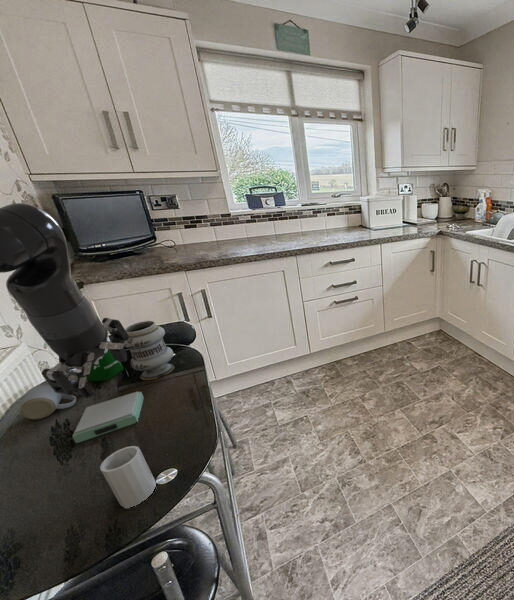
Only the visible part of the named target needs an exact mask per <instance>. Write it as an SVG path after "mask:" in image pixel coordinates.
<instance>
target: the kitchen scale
mask: <svg viewBox="0 0 514 600" xmlns="http://www.w3.org/2000/svg"><path fill="white" fill-rule="evenodd" d="M144 399H145V397H144V395H143V392H142V391H135V392H131V393H127V394H125V395H122V396H119V397H115V398H112V399H109V400H106V401H102V402H99V403H96V404H92V405H89V406H86V408H85V409H84V412H83V414H82V415H81V417H80V419H79V422H78V424H77V425H76V428H75V429H74V431H73V433H72V436H71V437H72V439H73V441H74V442H75V444H79V443H82V442H85V441H88V440H90V439H94V438H96V437H99V436H103V435H104V434H105V435H106V434H108V433H110V432H111V433H112V432H114V431H117V430H120V429H122V428H125V427H129V426H131V425H134V424H137V423H139V419H140V415H141V411H142V407H143V402H144ZM138 418H139V419H138ZM136 422H137V423H136Z"/></svg>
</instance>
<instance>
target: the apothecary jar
mask: <svg viewBox="0 0 514 600" xmlns="http://www.w3.org/2000/svg"><path fill="white" fill-rule="evenodd" d="M124 329H125V331H126V332H127V334H128V335H129V339H128V340H127V341H124V343H123V344H124V347H125V348H126V349H129V353H130V354H131V360H130V362H129V363H130V367H131V368H132V369H133V370H135V371H139V372H142V373H141V374H140V375H139V376H140V379H141V380H143V381H154V380H155V379H159V378H161V377H164V376H167V375H168V374H170V373H171V372H173V371H174V369H175V365H174V364H173V363H170V362H171V360H172V358H173V356H174V351H173V349H172V348H171V347H169V346H167V344H166V343H165V340H164V336H165V334H166V331H165V329H164V328H163V327H161V326H160V325H157V324H156V322H155V321H153V320H144V321H140V322H136V323H133V324H130V325H129V326H126V328H124ZM124 347H123V348H124Z"/></svg>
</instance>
